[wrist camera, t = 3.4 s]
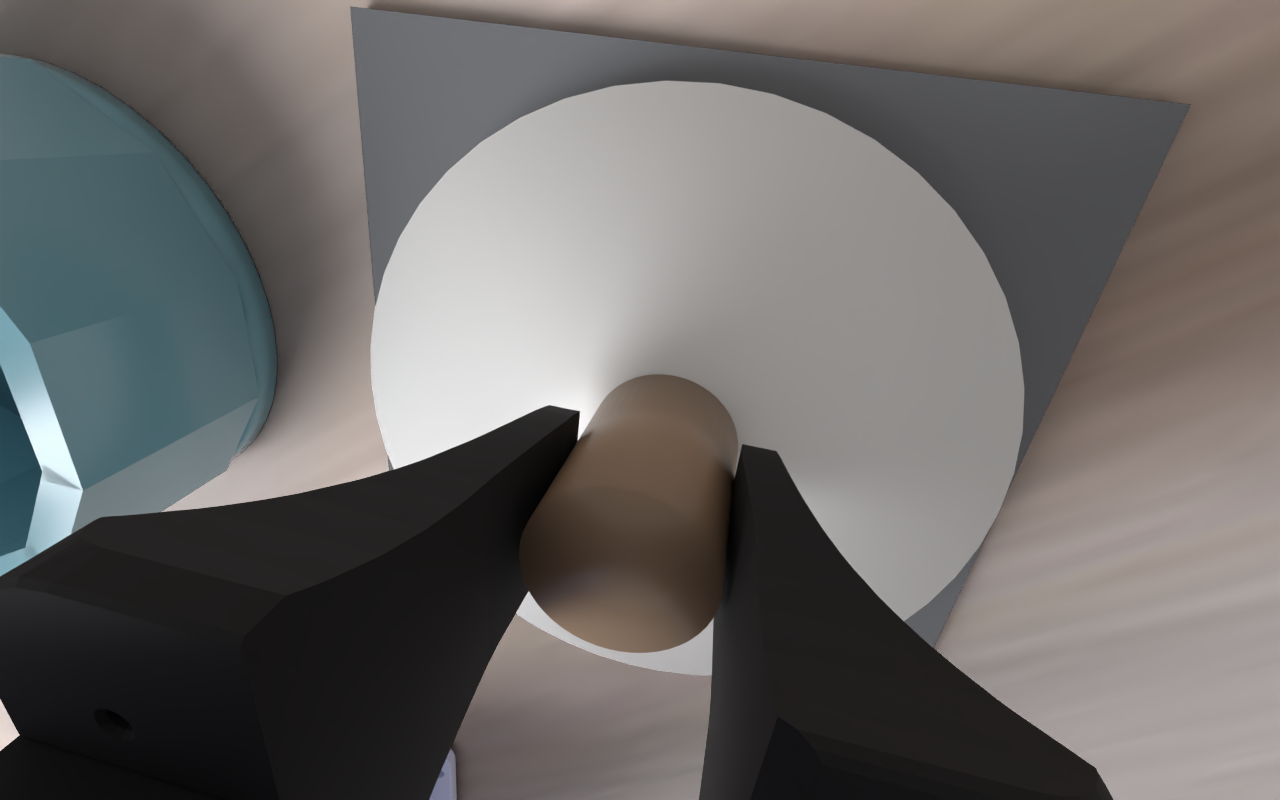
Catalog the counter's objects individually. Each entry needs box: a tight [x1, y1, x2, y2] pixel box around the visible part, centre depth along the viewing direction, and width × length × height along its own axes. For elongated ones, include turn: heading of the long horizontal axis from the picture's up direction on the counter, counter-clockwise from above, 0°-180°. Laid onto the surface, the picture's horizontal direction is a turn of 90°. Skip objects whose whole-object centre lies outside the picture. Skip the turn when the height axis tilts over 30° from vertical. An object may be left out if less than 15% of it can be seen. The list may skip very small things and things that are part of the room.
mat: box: [350, 7, 1191, 648], centre depth 13 cm, size 14×14×1 cm
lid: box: [370, 81, 1025, 676], centre depth 11 cm, size 13×13×5 cm
